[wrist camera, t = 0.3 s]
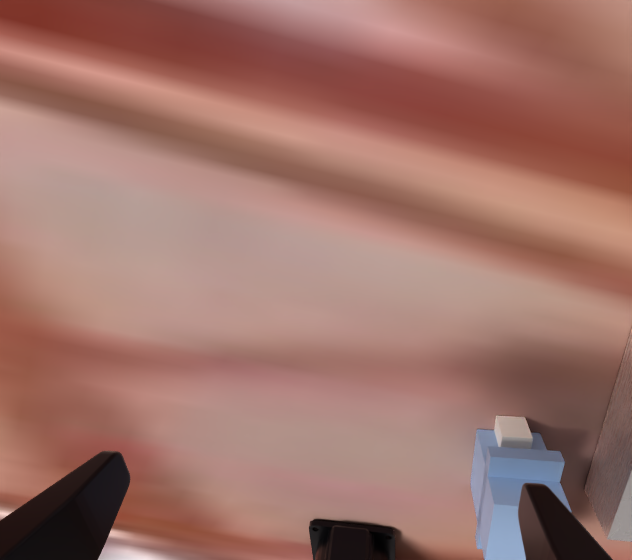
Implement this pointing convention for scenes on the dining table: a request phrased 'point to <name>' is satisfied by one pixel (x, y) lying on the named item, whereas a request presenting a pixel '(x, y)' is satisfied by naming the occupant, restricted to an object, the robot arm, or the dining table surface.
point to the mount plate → (615, 459)
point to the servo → (509, 483)
